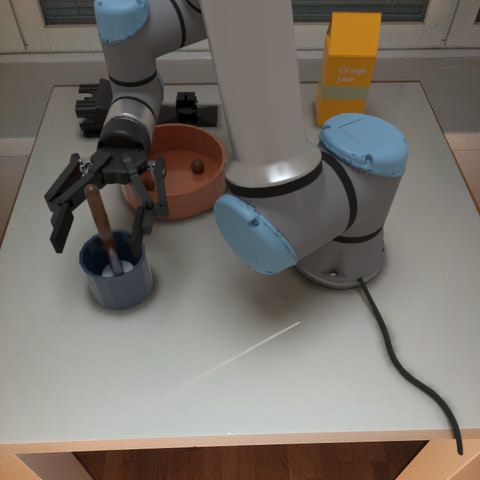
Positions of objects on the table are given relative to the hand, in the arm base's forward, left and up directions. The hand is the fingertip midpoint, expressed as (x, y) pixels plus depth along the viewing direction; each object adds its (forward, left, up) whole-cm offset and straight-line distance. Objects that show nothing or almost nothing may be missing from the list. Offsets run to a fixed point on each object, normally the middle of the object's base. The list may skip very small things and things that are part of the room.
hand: (94, 248), depth 61 cm
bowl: (+21, -21, -14) cm, 32 cm away
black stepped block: (+38, -33, -14) cm, 52 cm away
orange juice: (+22, -60, -14) cm, 65 cm away
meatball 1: (+21, -16, -12) cm, 29 cm away
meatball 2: (+21, -26, -12) cm, 35 cm away
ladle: (+4, -3, -14) cm, 14 cm away
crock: (+4, -3, -14) cm, 15 cm away
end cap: (+45, -17, -14) cm, 50 cm away
